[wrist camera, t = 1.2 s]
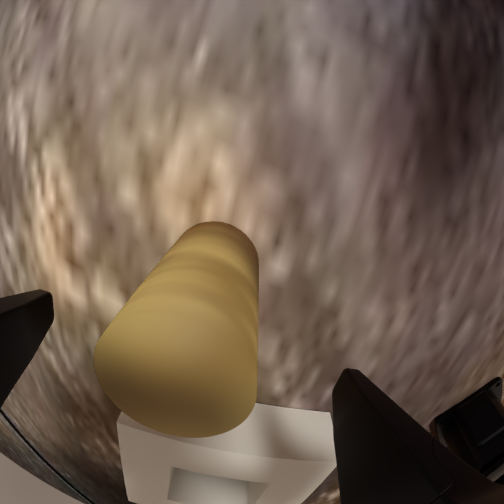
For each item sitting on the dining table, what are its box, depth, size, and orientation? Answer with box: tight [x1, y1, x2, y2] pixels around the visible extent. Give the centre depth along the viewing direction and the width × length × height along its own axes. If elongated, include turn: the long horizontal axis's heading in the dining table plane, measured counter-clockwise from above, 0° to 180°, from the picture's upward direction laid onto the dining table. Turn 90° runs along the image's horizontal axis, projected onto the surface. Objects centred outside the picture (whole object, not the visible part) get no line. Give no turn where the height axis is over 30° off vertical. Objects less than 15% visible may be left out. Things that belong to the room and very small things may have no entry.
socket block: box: [117, 403, 337, 504], centre depth 17 cm, size 12×12×4 cm
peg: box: [94, 221, 259, 438], centre depth 10 cm, size 4×4×8 cm
